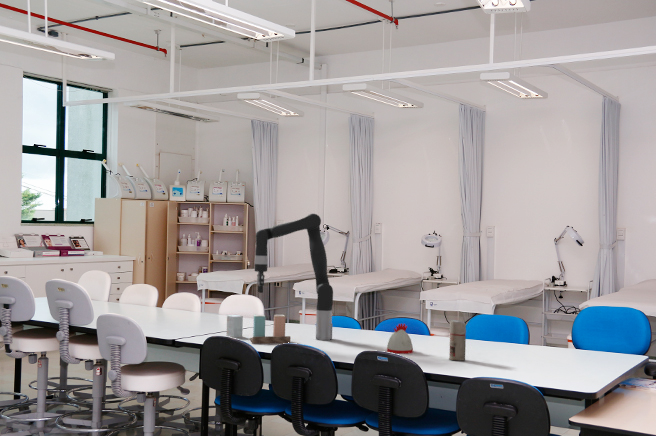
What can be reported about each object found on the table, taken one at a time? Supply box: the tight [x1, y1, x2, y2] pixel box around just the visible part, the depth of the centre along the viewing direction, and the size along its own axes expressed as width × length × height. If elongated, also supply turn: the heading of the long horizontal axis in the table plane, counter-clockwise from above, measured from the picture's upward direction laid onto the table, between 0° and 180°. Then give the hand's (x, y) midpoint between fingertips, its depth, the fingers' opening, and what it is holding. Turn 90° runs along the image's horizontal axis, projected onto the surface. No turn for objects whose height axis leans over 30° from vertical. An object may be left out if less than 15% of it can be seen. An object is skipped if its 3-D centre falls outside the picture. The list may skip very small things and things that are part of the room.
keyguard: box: [249, 335, 291, 345], centre depth 371 cm, size 21×15×5 cm
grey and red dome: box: [386, 323, 414, 355], centre depth 353 cm, size 14×14×15 cm
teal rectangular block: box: [252, 314, 266, 337], centre depth 372 cm, size 6×5×14 cm
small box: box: [226, 314, 244, 338], centre depth 386 cm, size 8×6×13 cm
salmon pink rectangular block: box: [272, 314, 286, 336], centre depth 374 cm, size 6×5×14 cm
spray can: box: [448, 319, 467, 361], centre depth 332 cm, size 8×8×20 cm
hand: (260, 292), depth 385 cm, fingers open, 5 cm apart
